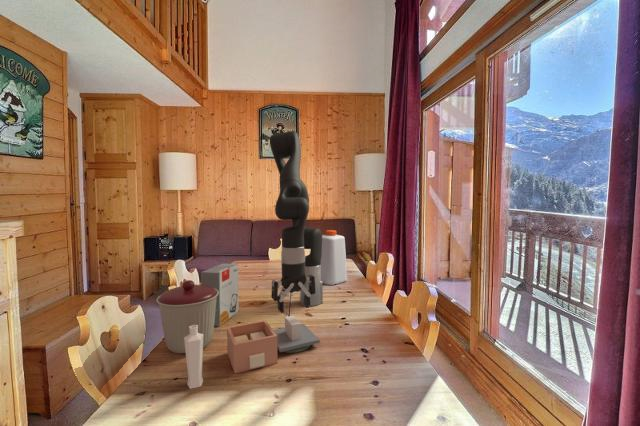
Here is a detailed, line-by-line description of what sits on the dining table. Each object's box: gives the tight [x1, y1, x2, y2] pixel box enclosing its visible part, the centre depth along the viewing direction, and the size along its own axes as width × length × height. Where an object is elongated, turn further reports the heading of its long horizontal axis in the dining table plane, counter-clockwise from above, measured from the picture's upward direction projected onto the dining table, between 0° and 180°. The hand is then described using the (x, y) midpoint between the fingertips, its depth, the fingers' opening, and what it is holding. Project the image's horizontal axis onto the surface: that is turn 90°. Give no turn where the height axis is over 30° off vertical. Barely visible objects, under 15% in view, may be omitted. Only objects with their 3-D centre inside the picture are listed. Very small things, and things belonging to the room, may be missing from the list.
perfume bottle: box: [184, 325, 204, 390], centre depth 77 cm, size 5×4×15 cm
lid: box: [273, 315, 321, 353], centre depth 99 cm, size 13×13×7 cm
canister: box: [155, 279, 219, 354], centre depth 97 cm, size 18×18×21 cm
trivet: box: [277, 345, 311, 354], centre depth 99 cm, size 12×12×1 cm
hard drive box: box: [200, 263, 240, 327], centre depth 118 cm, size 16×8×20 cm, turn 168°
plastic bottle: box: [321, 229, 348, 286], centre depth 168 cm, size 15×15×28 cm
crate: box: [226, 319, 278, 374], centre depth 90 cm, size 12×13×8 cm
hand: (294, 309), depth 98 cm, fingers open, 8 cm apart
